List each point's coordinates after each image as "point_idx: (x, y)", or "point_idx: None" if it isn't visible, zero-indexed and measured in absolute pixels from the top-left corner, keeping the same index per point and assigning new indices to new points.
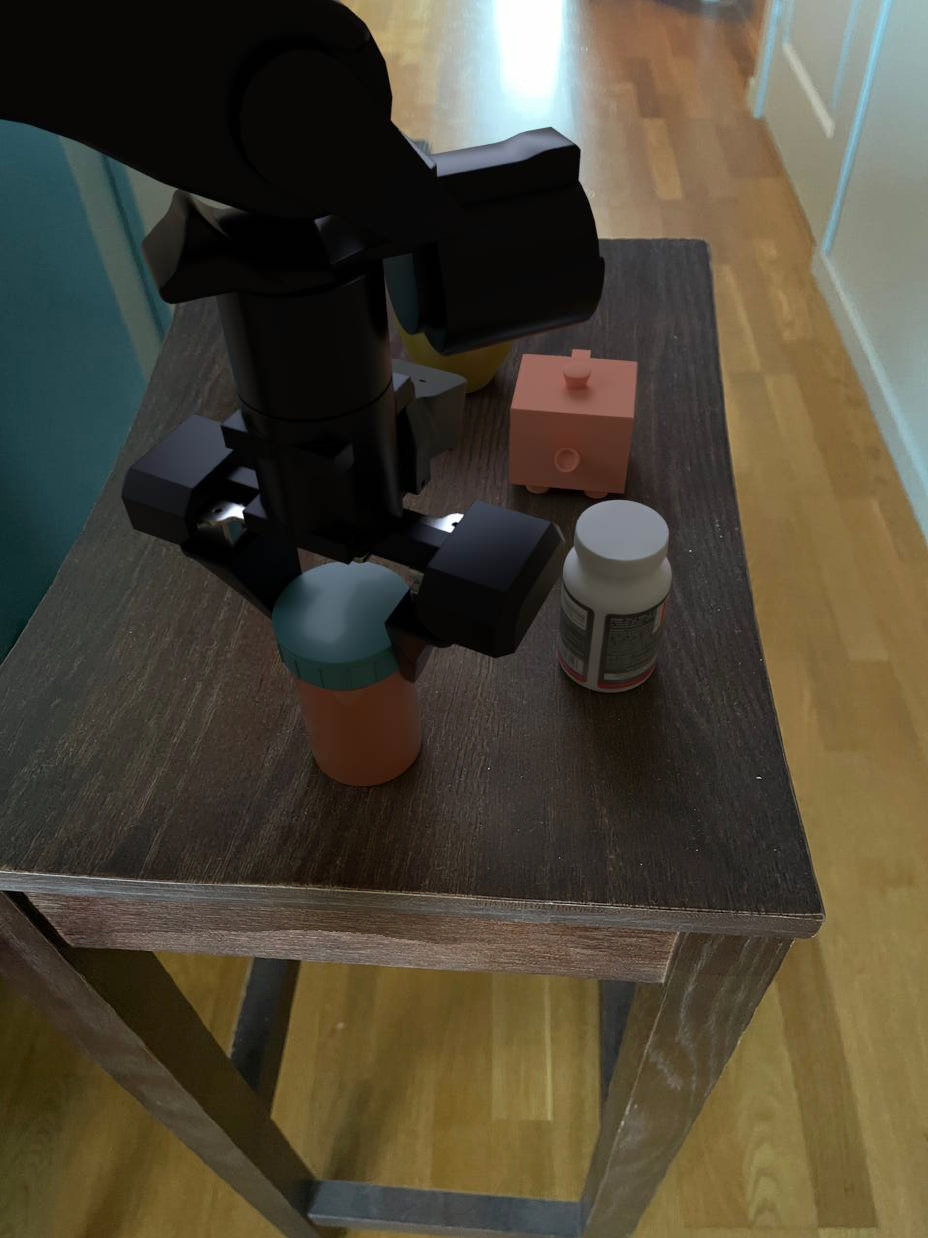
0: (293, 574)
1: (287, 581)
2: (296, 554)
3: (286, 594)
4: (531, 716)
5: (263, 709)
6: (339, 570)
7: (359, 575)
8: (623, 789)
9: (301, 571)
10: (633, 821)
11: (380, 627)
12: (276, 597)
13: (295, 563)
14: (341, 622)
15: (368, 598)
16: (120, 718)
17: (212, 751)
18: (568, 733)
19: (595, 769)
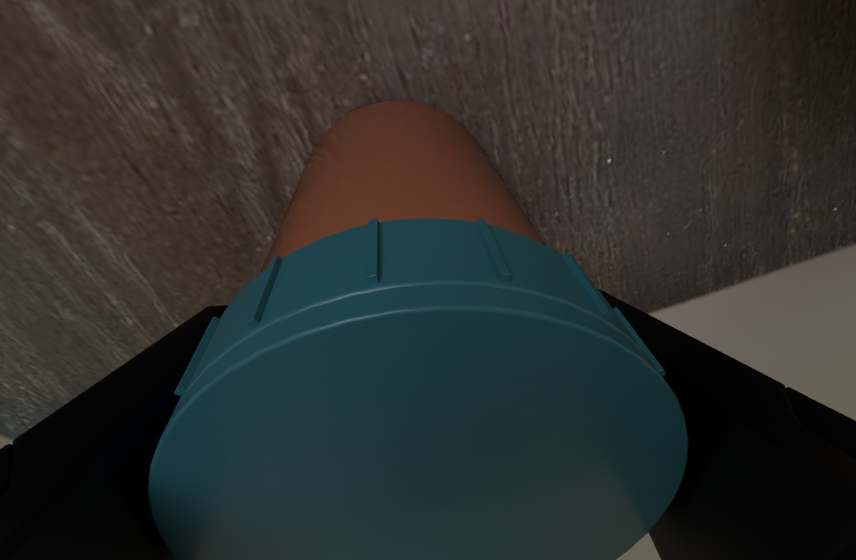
0: (121, 491)
1: (140, 525)
2: (46, 537)
3: (194, 548)
4: (669, 12)
5: (196, 221)
6: (283, 408)
7: (392, 397)
8: (831, 102)
9: (120, 438)
10: (837, 152)
11: (587, 515)
12: (172, 555)
13: (85, 512)
14: (454, 543)
15: (493, 456)
16: (17, 329)
17: (196, 313)
18: (744, 23)
19: (788, 83)
